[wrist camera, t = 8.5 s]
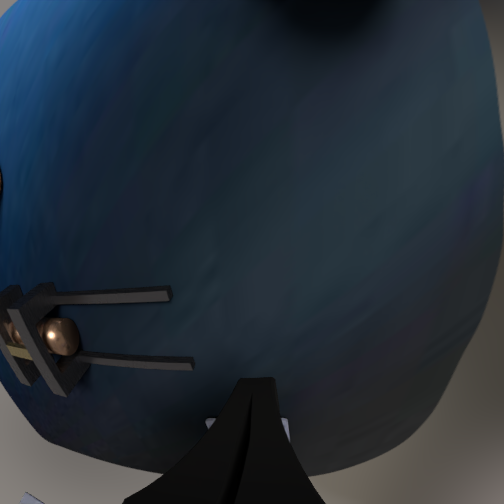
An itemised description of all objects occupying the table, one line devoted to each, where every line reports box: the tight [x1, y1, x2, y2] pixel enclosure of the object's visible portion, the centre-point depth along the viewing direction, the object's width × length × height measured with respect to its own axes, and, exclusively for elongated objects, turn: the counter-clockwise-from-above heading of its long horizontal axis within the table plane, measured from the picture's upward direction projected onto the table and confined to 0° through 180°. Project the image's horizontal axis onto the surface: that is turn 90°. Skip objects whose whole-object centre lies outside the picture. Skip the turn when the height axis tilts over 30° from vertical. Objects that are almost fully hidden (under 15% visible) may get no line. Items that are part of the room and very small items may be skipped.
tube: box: [3, 316, 79, 356], centre depth 22 cm, size 10×3×3 cm, turn 99°
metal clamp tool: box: [0, 282, 195, 397], centre depth 21 cm, size 9×20×5 cm, turn 99°
